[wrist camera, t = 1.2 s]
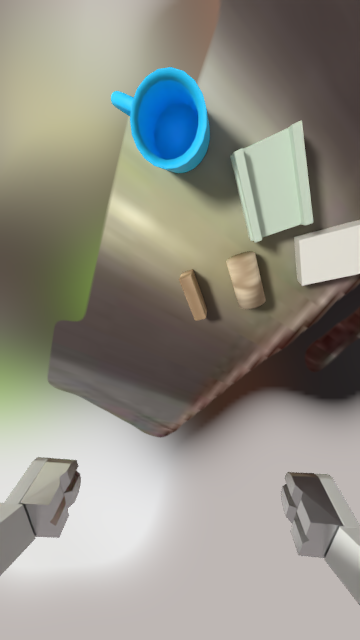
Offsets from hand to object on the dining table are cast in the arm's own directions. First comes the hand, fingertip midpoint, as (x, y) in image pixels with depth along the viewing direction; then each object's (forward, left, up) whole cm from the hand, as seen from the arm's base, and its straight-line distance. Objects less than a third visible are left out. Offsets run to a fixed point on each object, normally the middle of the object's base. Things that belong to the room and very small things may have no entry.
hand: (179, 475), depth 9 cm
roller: (-4, +5, -34) cm, 35 cm away
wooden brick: (+5, +5, -34) cm, 35 cm away
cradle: (-10, -6, -34) cm, 36 cm away
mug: (+1, -18, -34) cm, 39 cm away
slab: (-17, +5, -34) cm, 39 cm away
